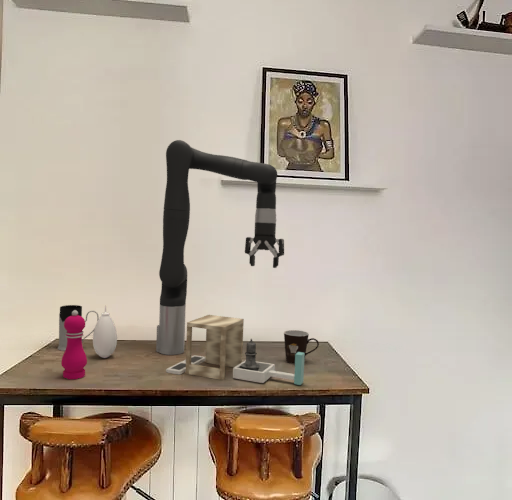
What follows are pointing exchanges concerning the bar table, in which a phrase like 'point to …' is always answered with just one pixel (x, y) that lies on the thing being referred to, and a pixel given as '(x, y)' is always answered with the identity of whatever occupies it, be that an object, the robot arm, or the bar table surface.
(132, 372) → the bar table surface
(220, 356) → the tunnel
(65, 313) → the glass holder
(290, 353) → the coffee mug
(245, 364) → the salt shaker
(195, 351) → the bar table surface
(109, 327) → the sauce bottle
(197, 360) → the pit trap board
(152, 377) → the bar table surface
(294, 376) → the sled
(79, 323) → the pepper mill
